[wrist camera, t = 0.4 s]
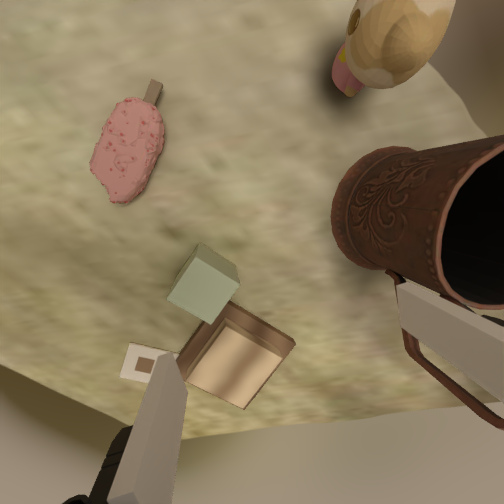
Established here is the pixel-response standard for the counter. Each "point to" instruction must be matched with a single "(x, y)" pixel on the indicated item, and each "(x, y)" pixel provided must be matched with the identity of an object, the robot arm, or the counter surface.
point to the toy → (389, 42)
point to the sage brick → (204, 284)
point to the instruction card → (141, 362)
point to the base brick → (233, 355)
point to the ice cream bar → (129, 146)
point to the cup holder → (430, 228)
